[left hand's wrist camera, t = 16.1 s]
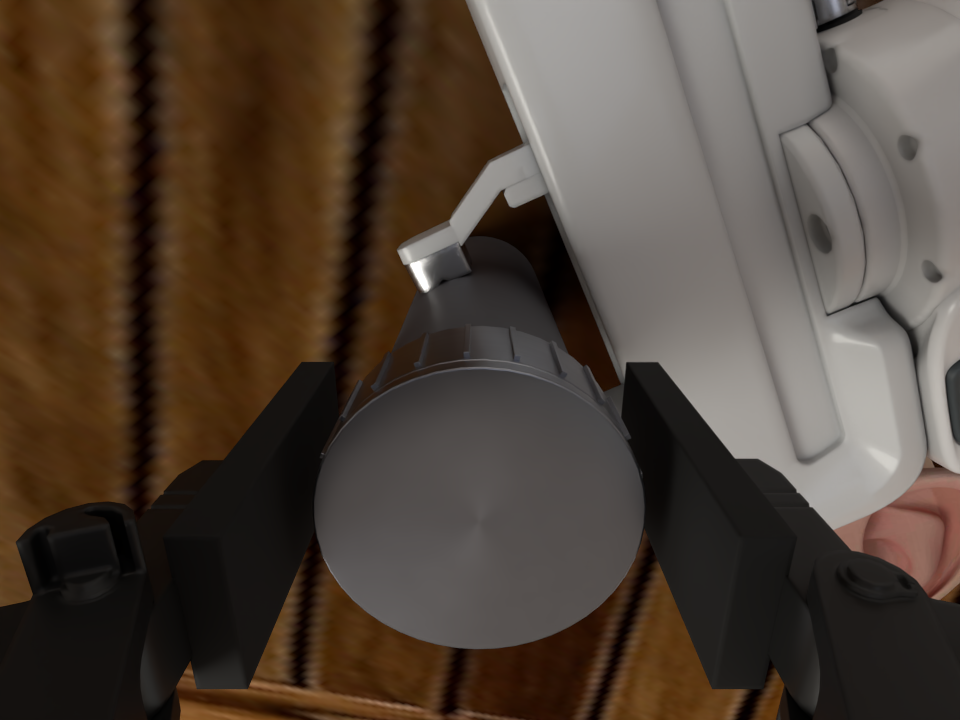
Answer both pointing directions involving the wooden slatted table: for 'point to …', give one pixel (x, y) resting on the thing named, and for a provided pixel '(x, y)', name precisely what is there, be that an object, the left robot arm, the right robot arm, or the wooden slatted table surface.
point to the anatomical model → (916, 531)
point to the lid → (479, 490)
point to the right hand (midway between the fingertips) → (454, 359)
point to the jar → (485, 297)
